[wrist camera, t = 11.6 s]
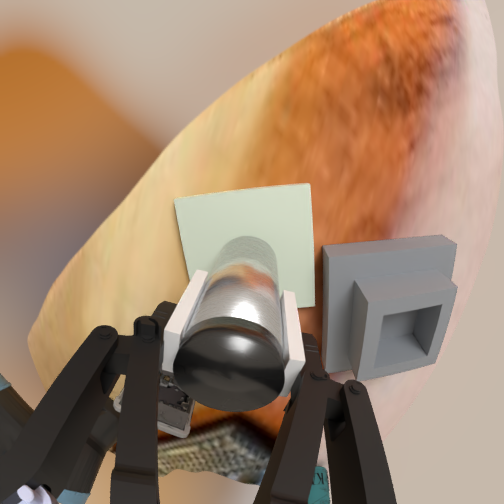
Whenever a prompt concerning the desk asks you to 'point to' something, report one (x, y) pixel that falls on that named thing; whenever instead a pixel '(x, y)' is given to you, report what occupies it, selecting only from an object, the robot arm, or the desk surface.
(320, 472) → the beverage bottle
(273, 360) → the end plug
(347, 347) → the socket block
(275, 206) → the sage board
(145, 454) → the robot arm
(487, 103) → the desk surface
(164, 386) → the electrical switch
